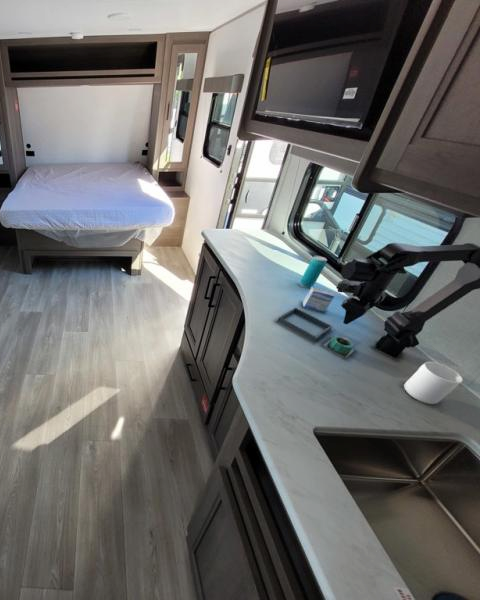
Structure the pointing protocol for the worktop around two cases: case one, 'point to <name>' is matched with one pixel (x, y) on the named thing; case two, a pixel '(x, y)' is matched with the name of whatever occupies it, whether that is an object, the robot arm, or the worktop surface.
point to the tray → (301, 331)
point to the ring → (340, 345)
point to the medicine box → (318, 299)
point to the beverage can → (313, 271)
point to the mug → (432, 382)
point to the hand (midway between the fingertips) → (350, 319)
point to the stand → (342, 341)
